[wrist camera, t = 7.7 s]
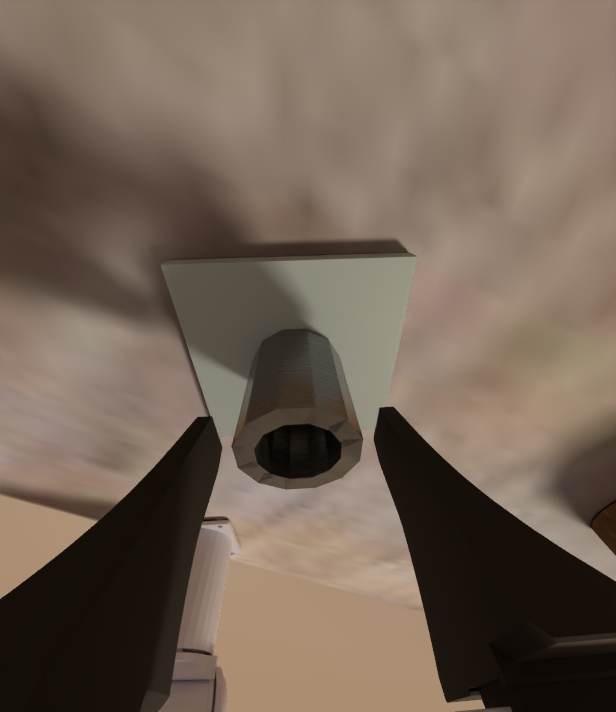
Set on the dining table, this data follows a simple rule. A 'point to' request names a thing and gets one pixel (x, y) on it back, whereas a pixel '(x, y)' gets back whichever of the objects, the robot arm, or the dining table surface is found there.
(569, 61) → the dining table surface
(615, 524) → the wooden container
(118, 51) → the dining table surface
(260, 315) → the shaft plate
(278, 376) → the tube
